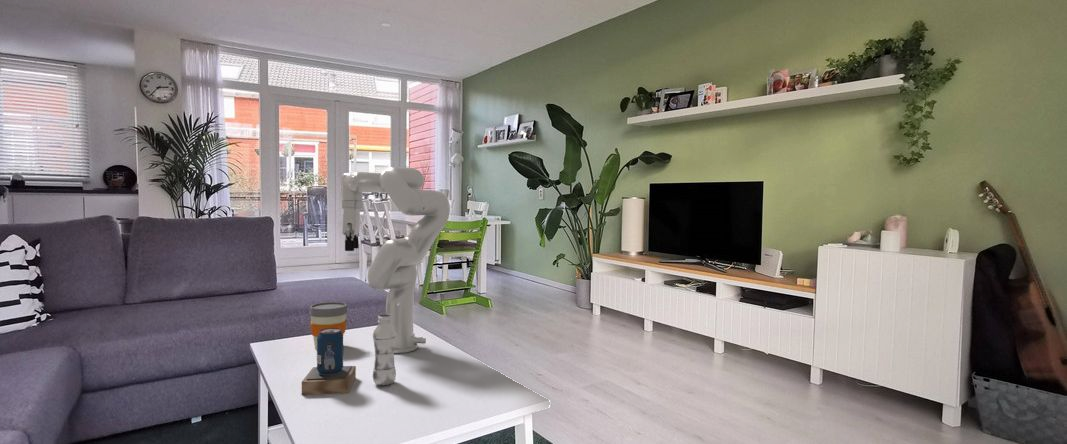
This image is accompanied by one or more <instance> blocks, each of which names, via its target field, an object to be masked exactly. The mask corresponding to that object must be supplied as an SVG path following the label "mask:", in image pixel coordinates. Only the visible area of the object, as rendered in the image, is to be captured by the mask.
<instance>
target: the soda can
mask: <svg viewBox="0 0 1067 444" xmlns="http://www.w3.org/2000/svg"><path fill="white" fill-rule="evenodd" d="M343 366H344V334H342V332H341V329H339V328H326V329H322V330H320V331H319V335H318V336H317V350H316V367H317V370H318V372H319V373H320V374H321V375H334V374H337V373H339V372H340V371H341V370H342V368H343Z"/></svg>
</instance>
